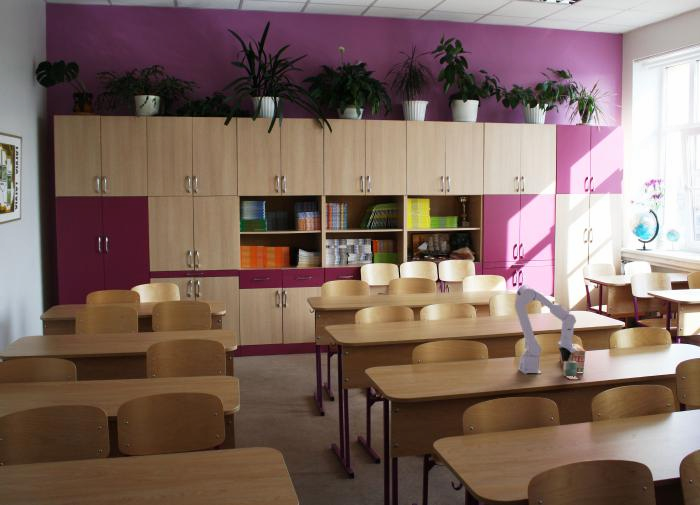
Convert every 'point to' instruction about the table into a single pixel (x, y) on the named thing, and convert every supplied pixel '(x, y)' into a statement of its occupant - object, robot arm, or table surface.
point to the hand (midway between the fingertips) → (564, 362)
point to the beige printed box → (577, 357)
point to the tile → (569, 368)
